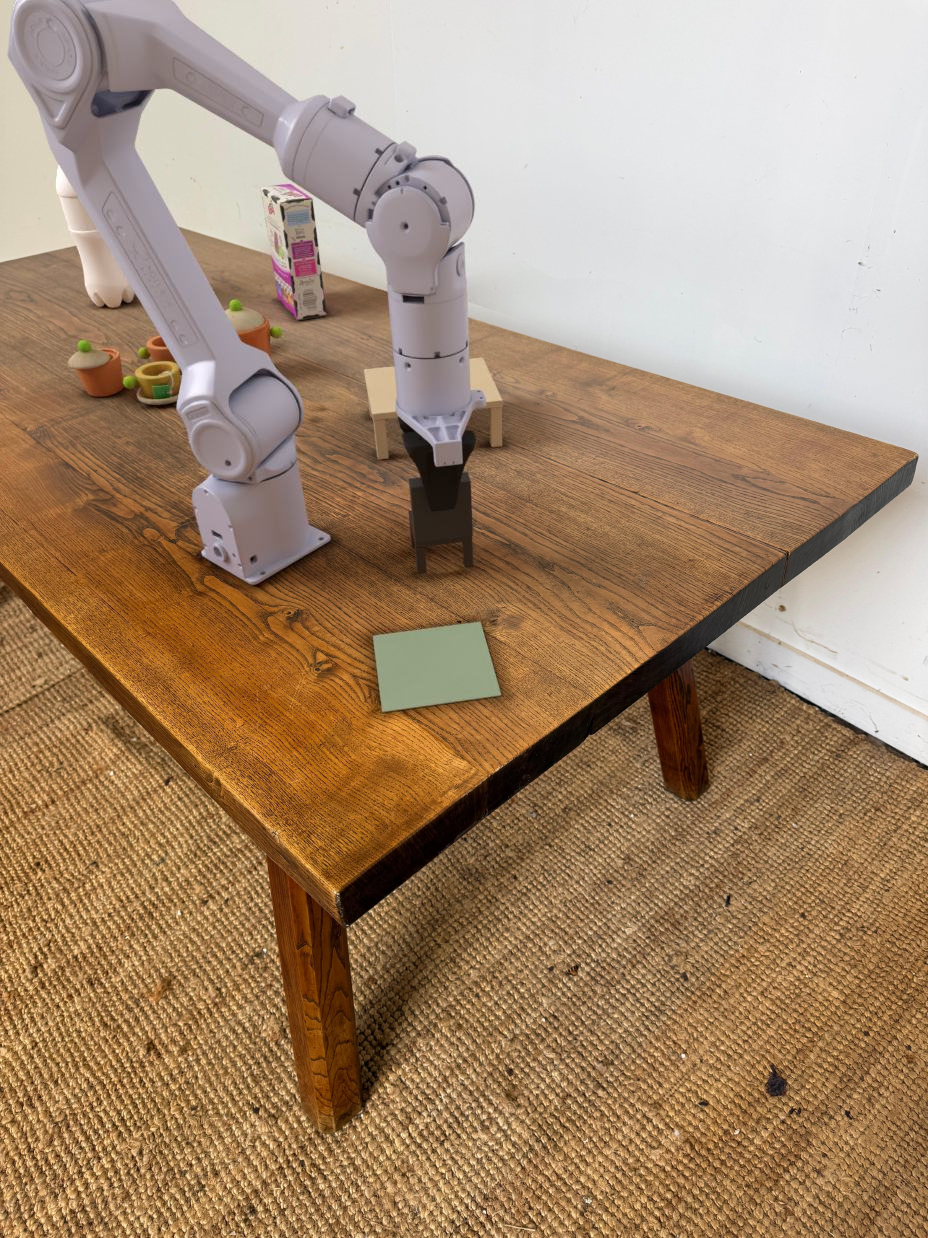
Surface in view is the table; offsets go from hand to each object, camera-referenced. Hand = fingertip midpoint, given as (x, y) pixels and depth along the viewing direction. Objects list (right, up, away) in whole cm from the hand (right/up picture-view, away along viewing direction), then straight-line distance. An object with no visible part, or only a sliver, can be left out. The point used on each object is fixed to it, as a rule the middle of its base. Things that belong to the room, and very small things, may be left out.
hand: (440, 501), depth 74 cm
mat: (0, -13, -5) cm, 14 cm away
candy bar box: (-23, +38, +61) cm, 75 cm away
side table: (-2, +12, +27) cm, 30 cm away
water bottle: (-54, +40, +66) cm, 94 cm away
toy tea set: (-34, +21, +41) cm, 58 cm away
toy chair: (0, -4, +6) cm, 7 cm away
